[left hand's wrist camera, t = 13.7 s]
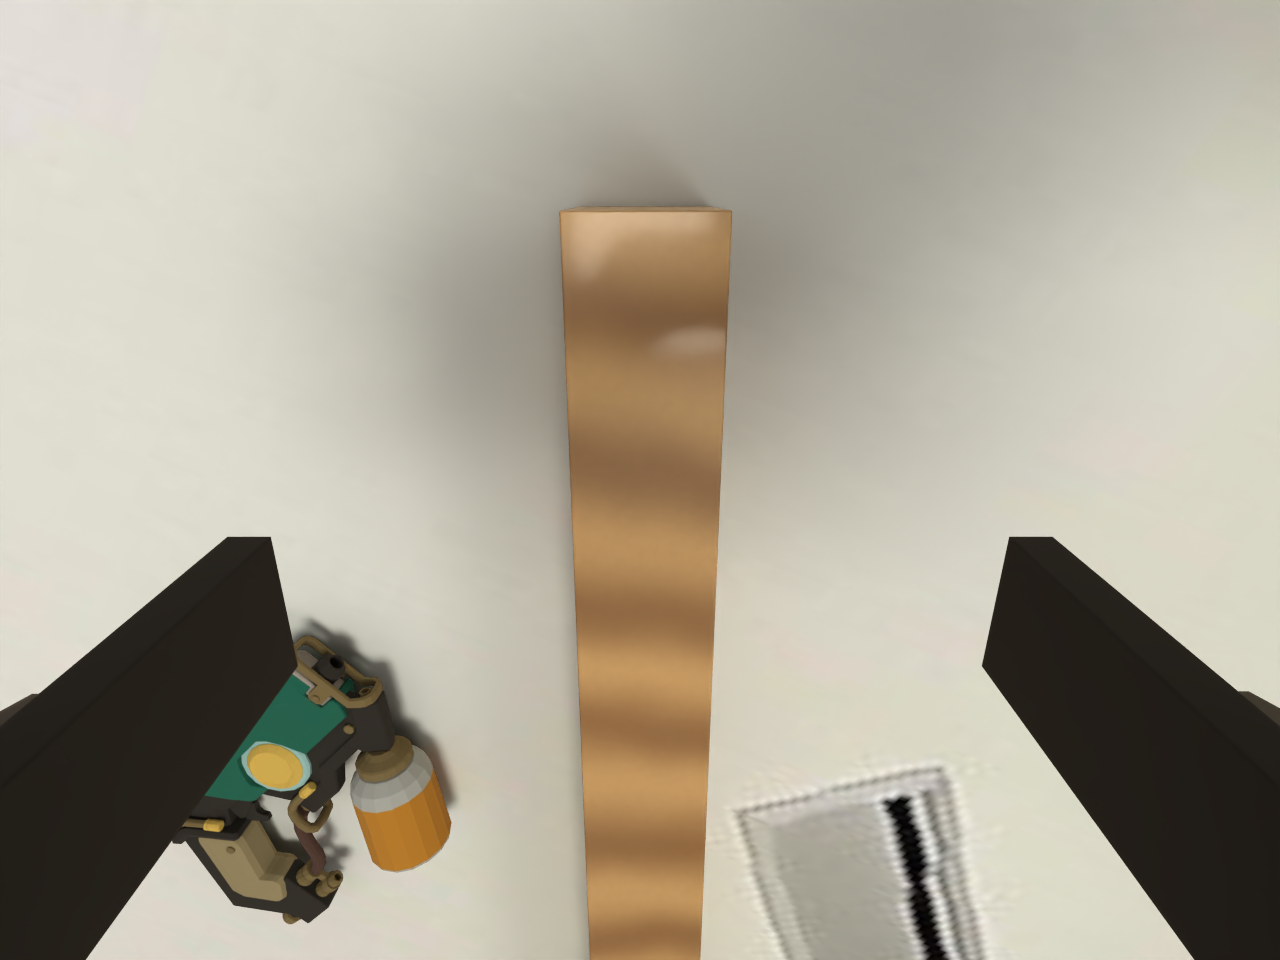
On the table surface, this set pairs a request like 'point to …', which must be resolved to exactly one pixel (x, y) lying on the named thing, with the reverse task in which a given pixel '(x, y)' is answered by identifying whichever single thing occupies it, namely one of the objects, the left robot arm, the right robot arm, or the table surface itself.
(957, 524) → the table surface
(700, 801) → the bar
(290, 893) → the spray gun
